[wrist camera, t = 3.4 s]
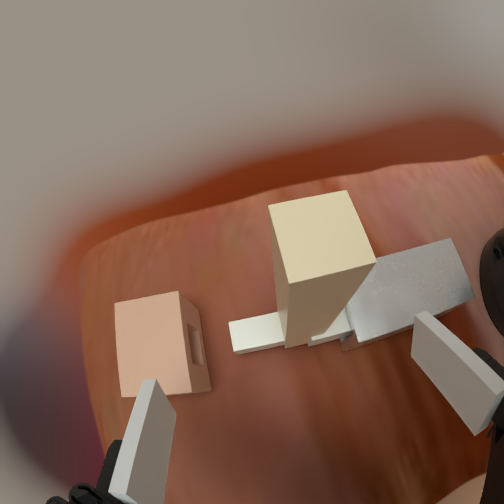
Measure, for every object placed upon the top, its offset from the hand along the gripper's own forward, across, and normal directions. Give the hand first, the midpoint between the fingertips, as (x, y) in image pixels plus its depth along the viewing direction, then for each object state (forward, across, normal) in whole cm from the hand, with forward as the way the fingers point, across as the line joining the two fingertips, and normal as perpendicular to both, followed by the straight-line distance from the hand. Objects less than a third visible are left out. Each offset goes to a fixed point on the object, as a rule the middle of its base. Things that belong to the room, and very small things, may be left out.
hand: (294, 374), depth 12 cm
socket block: (+12, -10, -6) cm, 16 cm away
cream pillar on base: (+11, +6, -5) cm, 13 cm away
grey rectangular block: (+12, +11, -6) cm, 17 cm away
